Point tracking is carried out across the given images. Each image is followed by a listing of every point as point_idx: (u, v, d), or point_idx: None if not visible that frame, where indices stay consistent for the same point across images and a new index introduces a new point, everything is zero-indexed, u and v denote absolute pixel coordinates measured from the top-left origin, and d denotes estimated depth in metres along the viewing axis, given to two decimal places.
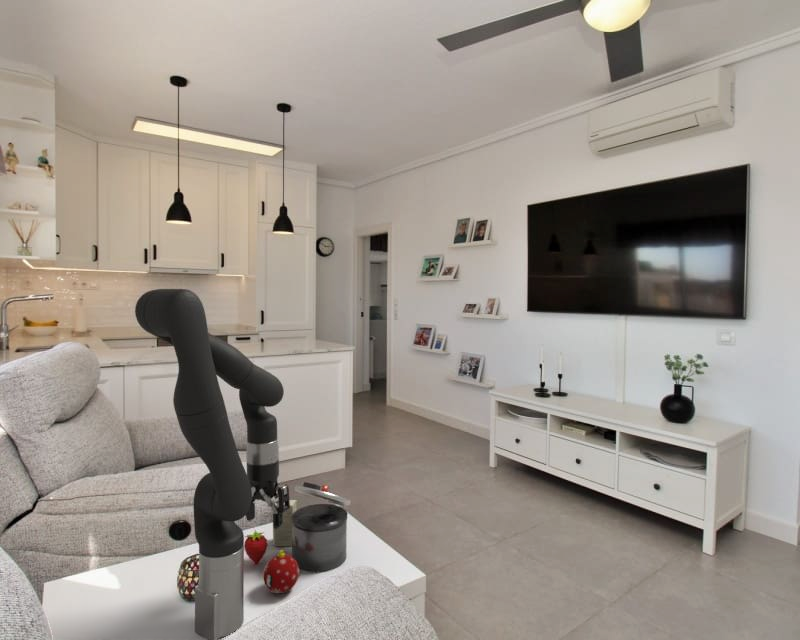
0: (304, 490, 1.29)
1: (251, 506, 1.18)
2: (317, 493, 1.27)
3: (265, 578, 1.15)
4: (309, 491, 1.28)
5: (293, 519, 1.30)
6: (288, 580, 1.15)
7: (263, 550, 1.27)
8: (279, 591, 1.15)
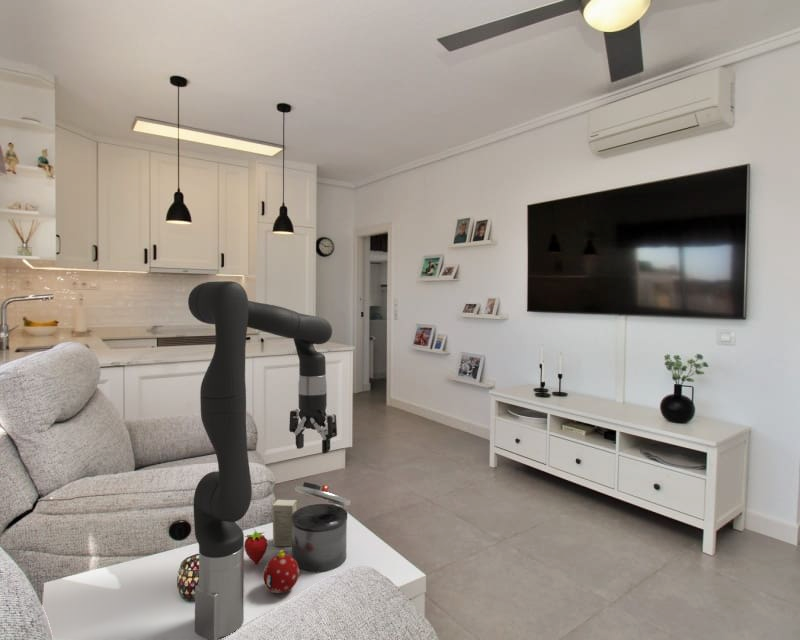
0: (304, 490, 1.29)
1: (301, 436, 1.32)
2: (317, 493, 1.27)
3: (265, 578, 1.15)
4: (309, 491, 1.28)
5: (293, 519, 1.30)
6: (288, 580, 1.15)
7: (263, 550, 1.27)
8: (279, 591, 1.15)
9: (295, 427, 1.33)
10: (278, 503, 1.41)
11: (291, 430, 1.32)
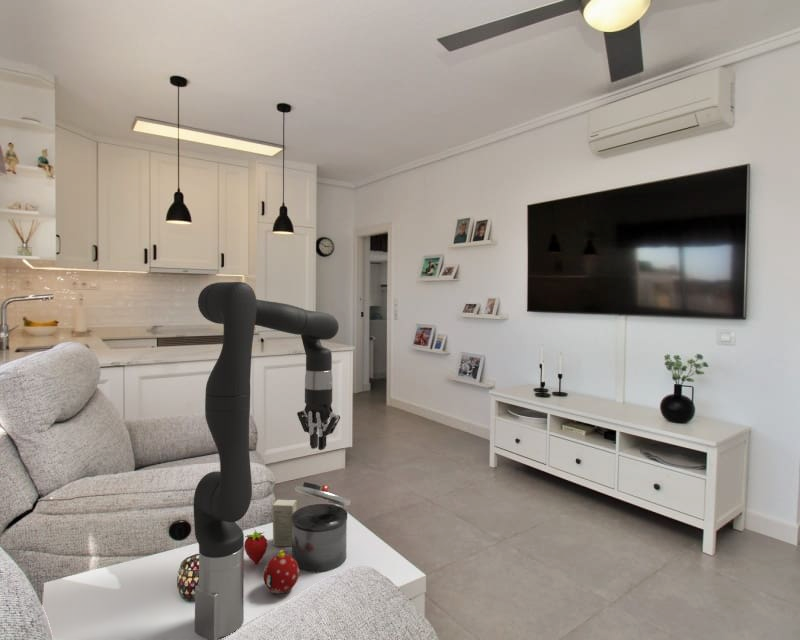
0: (304, 490, 1.29)
1: (315, 436, 1.32)
2: (317, 493, 1.27)
3: (265, 578, 1.15)
4: (309, 491, 1.28)
5: (293, 519, 1.30)
6: (288, 580, 1.15)
7: (263, 550, 1.27)
8: (279, 591, 1.15)
9: (308, 426, 1.33)
10: (278, 503, 1.41)
11: (306, 429, 1.32)
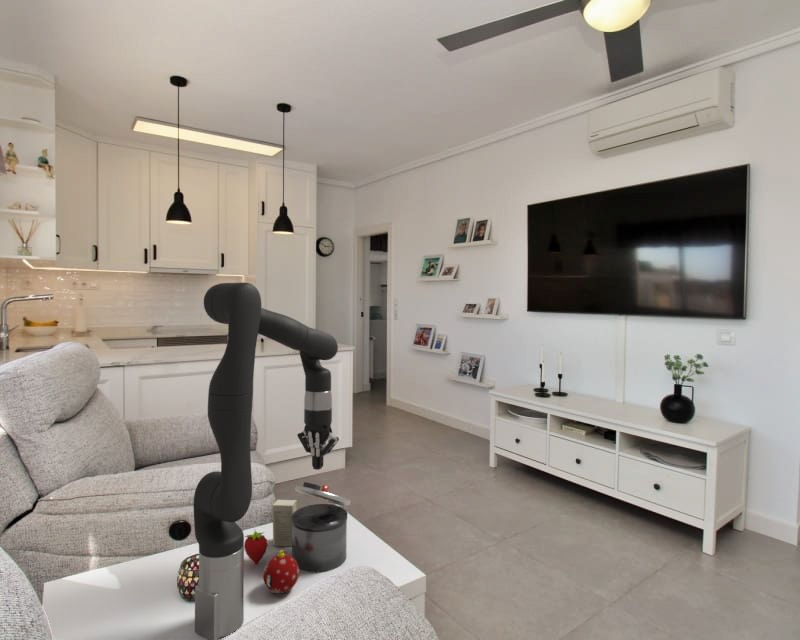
0: (304, 490, 1.29)
1: None
2: (317, 493, 1.27)
3: (265, 578, 1.15)
4: (309, 491, 1.28)
5: (293, 519, 1.30)
6: (288, 580, 1.15)
7: (263, 550, 1.27)
8: (279, 591, 1.15)
9: None
10: (278, 503, 1.41)
11: (308, 450, 1.32)
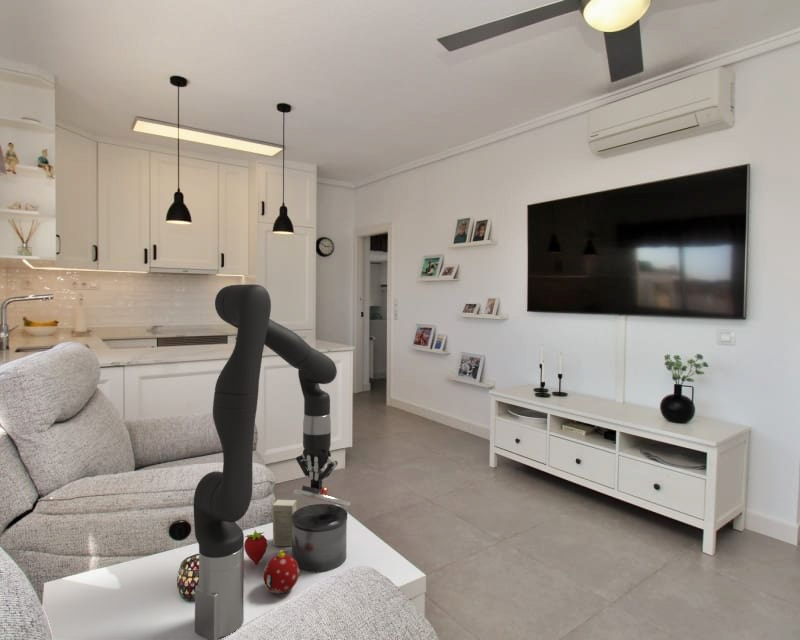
0: (303, 494, 1.28)
1: None
2: (316, 497, 1.27)
3: (265, 578, 1.15)
4: (308, 495, 1.27)
5: (293, 519, 1.30)
6: (288, 580, 1.15)
7: (263, 550, 1.27)
8: (279, 591, 1.15)
9: None
10: (278, 503, 1.41)
11: (306, 474, 1.32)
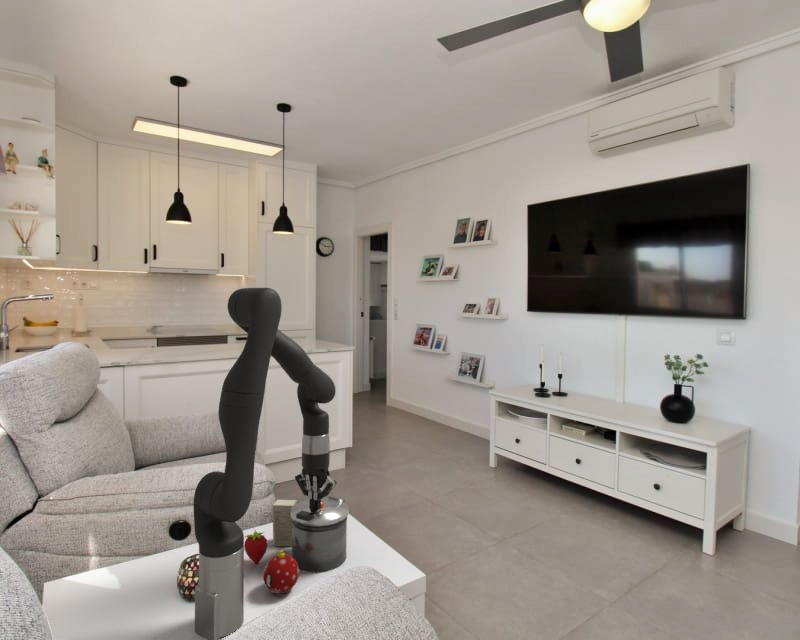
0: (298, 522, 1.27)
1: None
2: (312, 525, 1.25)
3: (265, 578, 1.15)
4: (303, 524, 1.26)
5: None
6: (288, 580, 1.15)
7: (263, 550, 1.27)
8: (279, 591, 1.15)
9: None
10: (278, 503, 1.41)
11: (305, 493, 1.31)
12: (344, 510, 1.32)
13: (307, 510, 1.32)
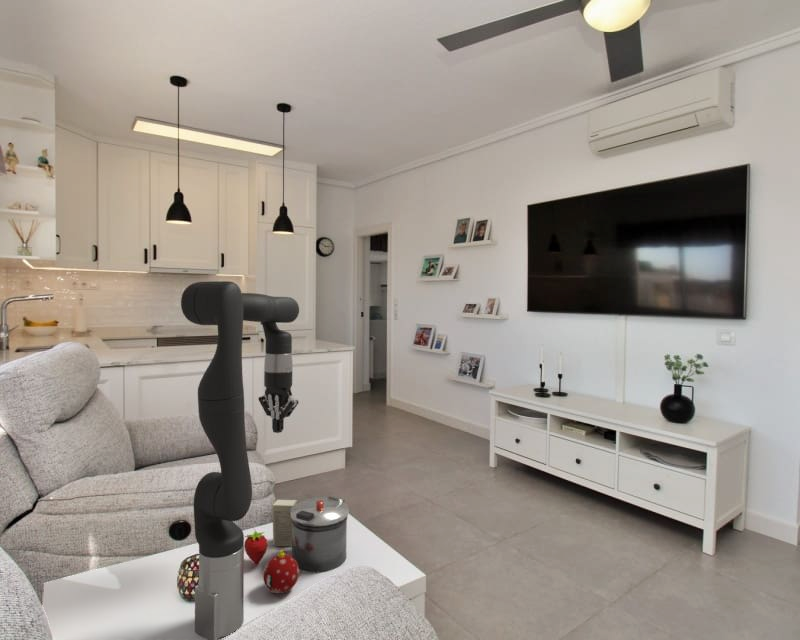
0: (298, 522, 1.27)
1: None
2: (312, 525, 1.25)
3: (265, 578, 1.15)
4: (303, 524, 1.26)
5: None
6: (288, 580, 1.15)
7: (263, 550, 1.27)
8: (279, 591, 1.15)
9: None
10: (278, 503, 1.41)
11: (268, 413, 1.32)
12: (344, 510, 1.32)
13: (307, 510, 1.32)
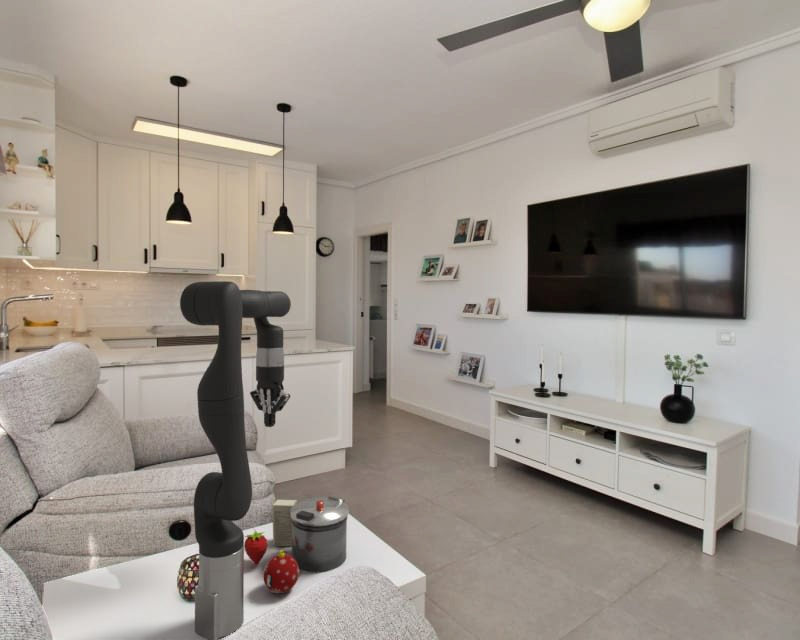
0: (298, 522, 1.27)
1: None
2: (312, 525, 1.25)
3: (265, 578, 1.15)
4: (303, 524, 1.26)
5: None
6: (288, 580, 1.15)
7: (263, 550, 1.27)
8: (279, 591, 1.15)
9: (263, 404, 1.33)
10: (278, 503, 1.41)
11: (260, 407, 1.32)
12: (344, 510, 1.32)
13: (307, 510, 1.32)
